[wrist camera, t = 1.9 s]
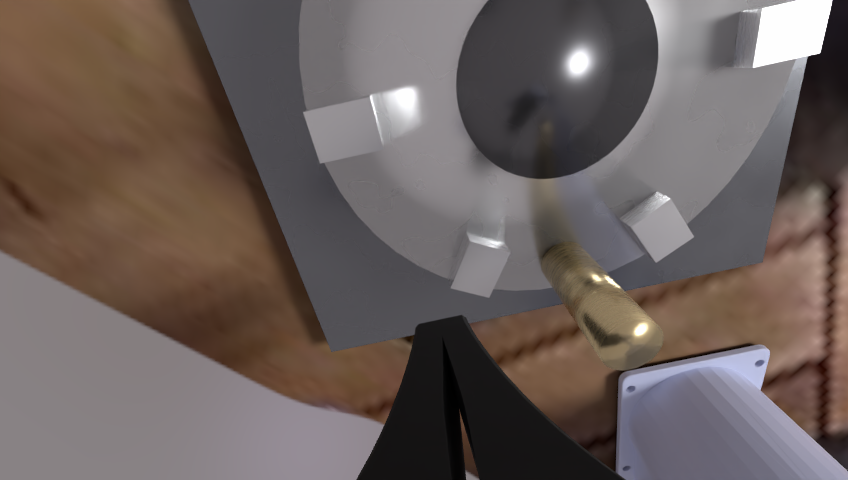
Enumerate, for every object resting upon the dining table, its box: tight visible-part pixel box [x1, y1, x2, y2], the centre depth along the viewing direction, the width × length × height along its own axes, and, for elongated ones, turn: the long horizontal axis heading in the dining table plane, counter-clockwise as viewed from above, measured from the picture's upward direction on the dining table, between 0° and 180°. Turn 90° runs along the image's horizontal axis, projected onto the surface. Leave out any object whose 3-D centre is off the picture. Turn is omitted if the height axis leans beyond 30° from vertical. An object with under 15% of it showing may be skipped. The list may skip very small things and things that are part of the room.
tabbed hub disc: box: [299, 0, 832, 370], centre depth 10 cm, size 14×14×7 cm
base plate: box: [188, 0, 808, 352], centre depth 14 cm, size 20×20×1 cm
